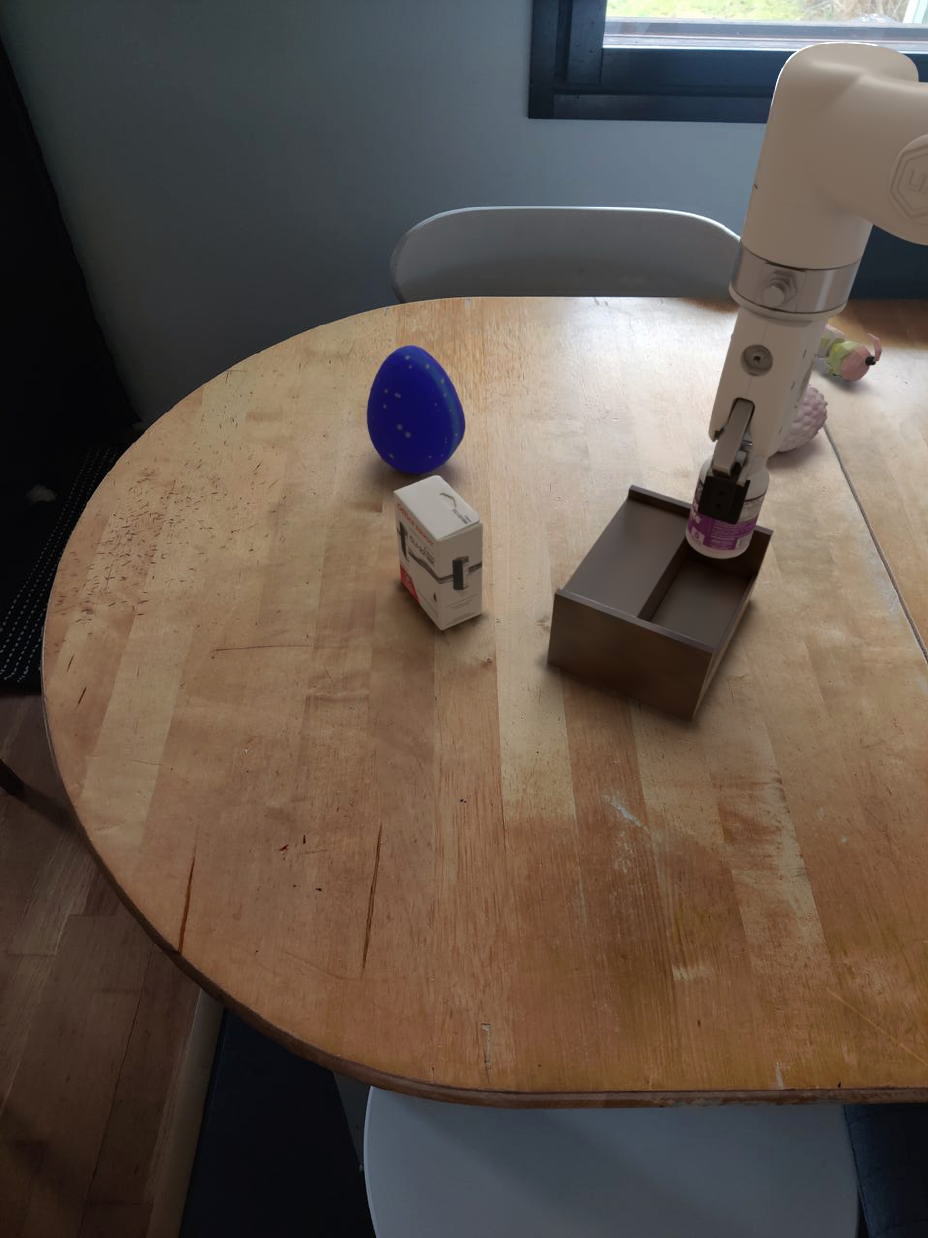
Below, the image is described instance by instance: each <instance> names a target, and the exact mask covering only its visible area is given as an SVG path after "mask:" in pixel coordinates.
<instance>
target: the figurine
mask: <svg viewBox="0 0 928 1238" xmlns="http://www.w3.org/2000/svg"><path fill="white" fill-rule="evenodd" d="M866 334H867V336H868V338H869V340H870V341H871V343H872V345H873V349H874V354H871V352H870V350H869V349H868V348H867V347H866V346H865V345H860V344H859V343H857V342H855V341H853V340H850V341H849V340H848V341H847V340H846V335H845V334H844V333H843V332H842V331H841V330H839V329H838V328H836V327H834V326H831V325H830V324H829V318H828V319H827V322H826V325H825V329H824V333H823V336H822V339H821V343H820V346H819V349H818V353H817V356H816V358H818V359H825V360H824V364H825V365H827V366H829V367H830V368H829V369H828V370H827V372H826V375H832V376H834V377H838V378H842V379H844V380H846V381H848V382H853V383H854V382H857V381H859V380H861V379H862V378H864V376H865V375H867V374H868V372H869V370H870V367H871V366H875V365H876V364H877V362H879V361H880V359H881V356H882V352H883V348H882V344H881V340H880V338H879V337H877V336H875V335H874V334H872V333H870V332H868V333H866Z"/></svg>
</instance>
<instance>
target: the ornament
mask: <svg viewBox="0 0 928 1238" xmlns="http://www.w3.org/2000/svg"><path fill="white" fill-rule="evenodd" d="M459 397H460V396H459V395H458V392H457V390H456V387H455V385H454V383H453V381H452V379H451V378H450V376H449V375H448V373H447V371H446V370H445V368H444V367H442V365H441V364H440V363H439V362H438V361H437V360H436V359H435V357H434V356H432V355H431V354H430V353H429V352H428V351H427V350H425V349H424V348H422V347H420V346H417V345H413V344H409V345H408V344H407V345H404V346H400V347H398V348H397V349H395V350H394V351H392V352H391V353H390V354H388V356H387V357H385V359H384V360H383V361H382V363H381V365H380V366H379V369H378V371H377V372H376V374H375V377H374V379H373V382H372V384H371V387H370V391H369V395H368V399H367V406H366V425H367V432H368V435H369V438H370V441H371V443H372V446H373V448H374V449H375V451H376V452H377V454H378V455H379V457H380V458H381V459H382V460H383V461H384V462H385V463H386V464H387V465H388V466H390V467H392V468H393V469H394V470H396V471H398V472H401V473H405V474H407V475H421V474H422V475H423V474H426V473H430V472H433V471H435V470H437V469H438V468H440V467H442V466H443V465H445V463H447V462H448V461H449V460H450V458H452V456H453V455H454V454H455V452H456V450H457V449H458V448H459V446H460V444H461V443H462V442H463V439H464V437H465V431H466V418H465V417H466V415H465V413H464V408H463V405H462V403H461V400H460V398H459Z"/></svg>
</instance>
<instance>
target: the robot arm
mask: <svg viewBox="0 0 928 1238" xmlns="http://www.w3.org/2000/svg"><path fill="white" fill-rule="evenodd" d="M873 226H876V227H878V228H879V229H881V230H883V231H885V232H887V233H889V234H890V235H892V236H895V237H897V238H899V239H901V240H904V241H907V242H910V243H913V244H918V245H922V246H928V82H923V81H919V72H918V68H917V66H916V64H915V62H913V60H912V59H911V58H910V57H908V56H907V55H905V54H903V53H902V52H899V51H898V50H895V49H892V48H889V47H885V46H882V45H877V44H871V43H862V42H851V41H850V42H849V41H831V42H828V41H827V42H820V43H816V44H812V45H808V46H805V47H803V48H801V49H799V50H797V51H796V52H794V53H793V54H792V55H790V57H789V58H788V59H787V60H786V62H785V64H784V65H783V67H782V68H781V71H780V72H779V75H778V78H777V81H776V85H775V89H774V91H773V97H772V100H771V105H770V109H769V113H768V117H767V122H766V126H765V131H764V134H763V139H762V143H761V148H760V152H759V157H758V160H757V166H756V168H755V173H754V178H753V182H752V187H751V191H750V195H749V199H748V203H747V208H746V213H745V217H744V221H743V225H742V230H741V235H740V239H739V243H738V247H737V251H736V255H735V256H736V257H735V258H734V264H733V267H732V273H731V277H730V280H729V281H730V282H729V285H728V291H729V295H730V297H731V298H732V299H733V300H734V302H736V304H738V305H739V309H738V312H737V317H736V320H735V323H734V327H733V329H732V333H731V335H730V341H729V344H728V348H727V352H726V355H725V359H724V363H723V366H722V370H721V372H720V373H721V375H720V378H719V381H718V385H717V389H716V393H715V397H714V402H713V406H712V410H711V415H710V420H709V425H708V432H707V434H708V437H709V440H710V441H711V442H712V443H715V442H716V443H717V445H716V444H715V446H716V448H715V447H714V449H715V451H714V450H713V454H712V455H713V457H712V460H711V463H710V467H709V469H708V470H707V473H706V477H705V481H704V485H703V489H702V493H701V497H700V501H699V505H698V509H697V511H698V513H699V514H701V515H704V516H707V517H710V518H713V519H716V520H719V521H723V522H726V523H729V524H732V525H735V524H737V522H738V520H739V518H740V515H741V512H742V508H743V505H744V502H745V498H746V495H747V492H748V489H749V485H750V482H751V480H747V478H748V475H749V472H750V469H751V466H752V463H753V460H754V457H755V455H756V454H759V455H763V457H765V458H767V457H768V459H769V458H770V457H771V456H774V455H775V454H776V453H777V452H778V451H777V450H778V448H779V447H780V445H781V443H782V441H783V440H784V438H785V436H786V434H787V432H788V431H789V429H790V427H791V425H792V423H793V421H794V419H795V417H796V416H797V414H798V412H799V410H800V408H801V405H802V403H803V400H804V398H805V394H806V391H807V387H808V384H810V379H811V376H812V374H813V373H812V372H813V370H814V366H815V363H816V359H817V353H818V349H819V346H820V343H821V339H822V336H823V333H824V329H825V325H826V322H827V319H828V320H829V319H830V318H833V317H835V316H838V315H839V314H840V313H841V312H843V311H844V309H845V308H846V305H847V303H848V300H849V298H850V293H851V291H852V288H853V285H854V283H855V279H856V276H857V273H858V270H859V267H860V264H861V261H862V258H863V255H864V252H865V250H866V246H867V244H868V240H869V238H870V235H871V232H872V228H873ZM745 434H749V435H751V439H752V442H751V441H748V440H744V436H745ZM717 440H718V441H717ZM739 451H743V452H746V456H745V459H744V462H743V465H742V468H741V463H739V462H736V461H737V460H736V458H737V455H738V452H739ZM768 459H767V461H768ZM765 466H766V467H767V464H766V465H765Z"/></svg>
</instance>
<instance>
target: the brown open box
mask: <svg viewBox="0 0 928 1238" xmlns="http://www.w3.org/2000/svg"><path fill="white" fill-rule="evenodd" d="M691 506H692V503H690V502H687V501H684V500H681V499H678V498H675V497H672V496H668V495H665V494H662V493H660V492H656V491H653V490H650V489H647V488H643V487H640V486H639V485H638V486H637V485H635V484H631V485H630V487H629V488H628V491H627V497H626V498H625V500H624V501H623V502H622V504H621V505H620V506H619V509H618V510H617V511H616V512H615V514H614V515H613V517H612V518H611V519H610V521H609V523H608V524H607V525H606V527H605V528H604V530H603V531H602V533H601V534H600V535H599V536H598V538H597V540H596V541H595V543H594V544H593V545H592V547H591V548H590V549H589V551H588V552H587V554H586V555H585V557H584V558H583V559H582V561H581V562H580V563H579V565H578V566H577V568H576V569H575V571H574V572H573V574H571V576H570V578H569V579H568V581H567V582H566V583H565V585H564V586H563V588H560V587H558V588H556V590H555V592H554V595H553V602H552V603H553V605H552V613H551V623H550V633H549V639H548V640H549V641H548V651H547V659H546V663H547V664H550V665H552V666H554V667H557V668H559V669H562V670H563V671H564V670H565V671H567V672H569V673H571V674H574V675H577V676H579V677H581V678H584V679H586V680H588V681H590V682H593V683H595V684H599V685H600V686H602V687H605V688H608V689H609V690H610V689H611V690H612V691H615V692H618V693H620V694H622V695H624V696H627V697H630V698H631V699H632V698H633V699H634V700H637V701H639V702H641V703H644V704H646V705H649V706H650V707H654V708H656V709H658V710H661V711H662V712H666V713H668V714H670V715H673V716H676V717H678V718H680V719H682V720H685V721H687V722H690V723H692V721H693V720H694V717H695V716H696V714H697V712H698V709H699V707H700V706H701V704H702V703H701V702H702V701H703V699H704V697H705V694H706V692H707V690H708V688H709V687H710V684H711V682H712V681H713V678H714V675H715V674H716V672H717V670H718V667H719V666H720V663H721V661H722V659H723V657H724V655H725V653H726V651H727V649H728V646H729V644H730V642H731V641H732V638H733V637H734V634H735V632H736V630H737V628H738V626H739V624H740V622H741V619H742V617H743V615H744V614H745V612H746V609H747V607H748V605H749V603H750V601H751V598H752V595H753V592H754V589H755V586H756V583H757V581H758V578H759V575H760V572H761V569H762V566H763V563H764V560H765V557H766V554H767V551H768V548H769V545H770V543H771V540H772V536H773V534H774V530H773V529H771V528H768V527H764V526H761V525H758V524H756V525H755V528H754V531H753V534H752V537H751V540H750V543H749V545H748V547H747V549H746V550H745V551H744V552H743V553H741V554H740V555H738V556H736V557H731V558H723V559H720V558H713V557H709V556H706V555H703V554H701V553H700V552H698V551H696V550H695V549H694V548H693V547H692V546H691V545H690V544H689V542H688V540H687V538H686V528H687V524H688V519H689V515H690V511H691Z"/></svg>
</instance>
